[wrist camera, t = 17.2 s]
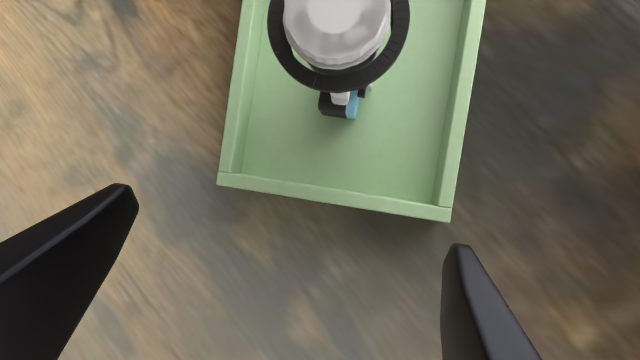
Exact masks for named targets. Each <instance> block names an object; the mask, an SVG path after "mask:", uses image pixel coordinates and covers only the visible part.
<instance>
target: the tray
mask: <svg viewBox="0 0 640 360" xmlns="http://www.w3.org/2000/svg"><path fill="white" fill-rule="evenodd" d="M269 4H270V0H242V7H241V14H240V21H239V28H238V35H237V42H236V49H235V56H234V63H233V70H232V77H231V84H230V91H229V98H228V105H227V112H226V119H225V126H224V133H223V140H222V147H221V154H220V161H219V168H218V171H219V172H218V174H217V181H216V185H220V186H227V187H233V188H239V189H245V190H251V191H257V192H263V193H269V194H275V195H281V196H288V197H294V198H300V199H306V200H312V201H318V202H324V203H330V204H336V205H343V206H349V207H355V208H361V209H367V210H373V211H379V212H385V213H391V214H398V215H404V216H410V217H416V218H422V219H428V220H434V221H440V222H446V223H449V222H450V218H451V212H452V209H451V208H452V206H453V199H454V193H455V187H456V181H457V175H458V169H459V163H460V157H461V151H462V145H463V138H464V132H465V126H466V120H467V114H468V108H469V102H470V96H471V90H472V84H473V78H474V71H475V65H476V59H477V53H478V47H479V41H480V35H481V29H482V23H483V17H484V11H485V4H486V0H409V6H410V24H409V30H408V34H407V38H406V41H405V44H404V46H403V49H402V51H401V53H400V55H399V56H398V58H397V59H396V61H395V62H394V64H393V65H392V66H391V67H390V69H389V70H388V71H387V72H386V73H385V74H383V75H382V76H381V77H380V78H379V79H377V80H376V81H374V82H373V84H372V89H371V91H370V86H368V87H367V89H366V95H365V98H359V103H358V112H357V118H356V120H352V119H346V118H339V117H332V116H325V115H322V113H321V112H320V111H319V109H318V102H319V96H320V91H317V90H314V89H311V88H309V87H307V86H305V85H303V84H301V83H299V82H298V81H296V80H295V79H294V78H293V77H291V76H290V75H289V74H288V73H287V72H286V71H285V69H284V68H283V67H282V65H281V64H280V63H279V61H278V60H277V58H276V56H275V54H274V52H273V50H272V48H271V45H270V42H269V37H268V31H267V14H268V8H269ZM390 35H391V26H389V29H388V31H387V33H386V35H385V37H384V40H383V42H382V45H381V48H380V50H379V52H378V54H377V56H378V55H379V54H380V53H381V52H382V50H383V49H384V47H385V46H386V44H387V42H388V40H389V37H390ZM291 48H292V46H291ZM292 52H293V55H294V57H295V58H296V59H297V60H298V61H299V62H300V63H301V64H303V65H304V66H305V67H307V68H309V69H311V70H312V71H314V70H313V69H312V68H311V67H310V65H309V64H308V63H307V62H306V61H305V60H303V59H302V58H301V57H299V56H298V55H297V53H296V52H295V50H294V49H293V48H292ZM377 56H376V57H377Z"/></svg>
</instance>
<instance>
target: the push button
mask: <svg viewBox="0 0 640 360" xmlns="http://www.w3.org/2000/svg"><path fill="white" fill-rule="evenodd" d="M409 24H410V6H409V0H270V4H269V8H268V14H267V31H268V37H269V42H270V45H271V48H272V50H273V52H274V54H275V56H276V58H277V60H278V61H279V63H280V64H281V65H282V67H283V68H284V69H285V71H286V72H287V73H288V74H289V75H290V76H291V77H293V78H294V79H295V80H296V81H298V82H299V83H301V84H303V85H305V86H307V87H309V88H311V89H314V90H317V91H320V96H319V102H318V109H319V111H320V112H321V113H322V115H325V116H332V117H339V118H346V119H352V120H356V118H357V112H358V103H359V98H365V95H366V89H367V87H368V86H370V91H371V89H372V84H373V82H374V81H376V80H377V79H379V78H380V77H381V76H382V75H383V74H385V73H386V72H387V71H388V70H389V69H390V67H391V66H392V65H393V64H394V62H395V61H396V59H397V58H398V56H399V55H400V53H401V51H402V49H403V46H404V44H405V41H406V38H407V34H408V30H409ZM389 26H391V35H390V37H389V40H388V42H387V44H386V46H385V47H384V49H383V50H382V52H381V53H380V54H379V55H378V56H377V54H378V52H379V50H380V48H381V45H382V42H383V40H384V37H385V35H386V33H387V31H388V29H389ZM291 46H292V48H293V49H294V50H295V52H296V53H297V55H298V56H299V57H301V58H302V59H303V60H305V61H306V62H307V63H308V64H309V65H310V67H311V68H312V69H313V70H314V71H312V70H311V69H309V68H307V67H305V66H304V65H303V64H301V63H300V62H299V61H298V60H297V59H296V58H295V57H294V55H293V52H292V48H291ZM376 56H377V57H376Z"/></svg>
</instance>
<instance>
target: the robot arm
mask: <svg viewBox="0 0 640 360" xmlns="http://www.w3.org/2000/svg"><path fill="white" fill-rule="evenodd" d="M138 211H139V204H138V201H137V199H136V197H135V195H134V192H133V190H132V188H131V187H130V186H129V185H125V184H120V183H114V184H111V185H109V186H107V187H106V188H104V189H102V190H100V191H98V192H96V193H94V194H92V195H90V196H88V197H87V198H85V199H83V200H81V201H79V202H77V203H75V204H73V205H71V206H69V207H67V208H66V209H64V210H62V211H60V212H58V213H56V214H54V215H52V216H50V217H48V218H47V219H45V220H43V221H41V222H39V223H37V224H35V225H33V226H31V227H29V228H28V229H26V230H24V231H22V232H20V233H18V234H16V235H14V236H12V237H10V238H8V239H7V240H5V241H3V242H1V243H0V360H57V359H58V357H59V356H60V354H61V352H62V351H63V349H64V347H65V346H66V344H67V342H68V340H69V339H70V337H71V335H72V334H73V332H74V330H75V329H76V327H77V325H78V324H79V322H80V320H81V319H82V317H83V315H84V313H85V312H86V310H87V308H88V307H89V305H90V303H91V302H92V300H93V298H94V297H95V295H96V293H97V291H98V290H99V288H100V286H101V285H102V283H103V281H104V280H105V278H106V276H107V275H108V273H109V271H110V269H111V268H112V266H113V264H114V263H115V261H116V259H117V257H118V255H119V253H120V251H121V249H122V247H123V244H124V242H125V240H126V238H127V236H128V234H129V231H130V229H131V227H132V225H133V223H134V220H135V218H136V216H137V214H138ZM440 330H441V344H442V357H443V360H542V359H541V357H540V355H539V354H538V352H537V351H536V349H535V347H534V346H533V344H532V343H531V341H530V340H529V338H528V336H527V335H526V333H525V332H524V330H523V329H522V327H521V325H520V324H519V322H518V321H517V319H516V317H515V316H514V314H513V313H512V311H511V310H510V308H509V306H508V305H507V303H506V302H505V300H504V299H503V297H502V295H501V294H500V292H499V291H498V289H497V287H496V286H495V284H494V283H493V281H492V280H491V278H490V276H489V275H488V273H487V272H486V270H485V269H484V267H483V265H482V264H481V262H480V261H479V259H478V257H477V256H476V254H475V253H474V251H473V250H472V248H471V247H470V246H468V245H464V244H458V243H454V244H452V246H451V247H450V250H449V252H448V254H447V256H446V258H445V260H444V263H443V269H442V290H441V313H440Z"/></svg>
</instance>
